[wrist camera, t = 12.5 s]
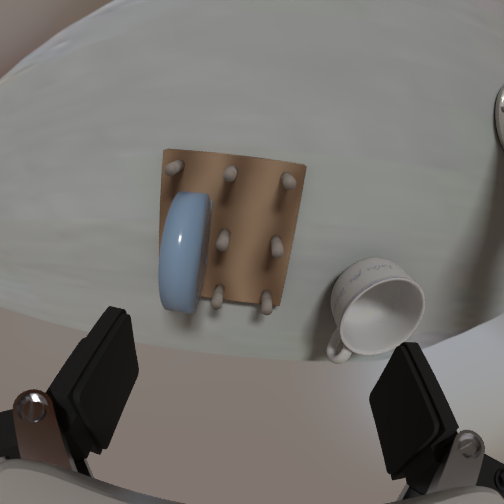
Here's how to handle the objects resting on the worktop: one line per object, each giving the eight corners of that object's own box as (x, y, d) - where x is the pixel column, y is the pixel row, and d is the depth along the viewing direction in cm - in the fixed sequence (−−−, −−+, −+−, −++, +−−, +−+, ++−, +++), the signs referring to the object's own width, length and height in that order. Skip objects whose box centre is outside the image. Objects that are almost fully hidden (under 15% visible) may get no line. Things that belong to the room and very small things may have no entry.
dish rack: (304, 164, 31) (312, 171, 26) (278, 299, 38) (281, 323, 33) (167, 148, 30) (152, 152, 26) (162, 284, 37) (151, 305, 33)
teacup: (374, 230, 34) (402, 258, 26) (413, 285, 37) (439, 317, 29) (289, 301, 38) (296, 341, 30) (336, 344, 41) (349, 383, 34)
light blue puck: (215, 182, 30) (192, 213, 20) (206, 275, 35) (187, 338, 24) (192, 180, 30) (159, 209, 20) (186, 272, 35) (160, 334, 24)
